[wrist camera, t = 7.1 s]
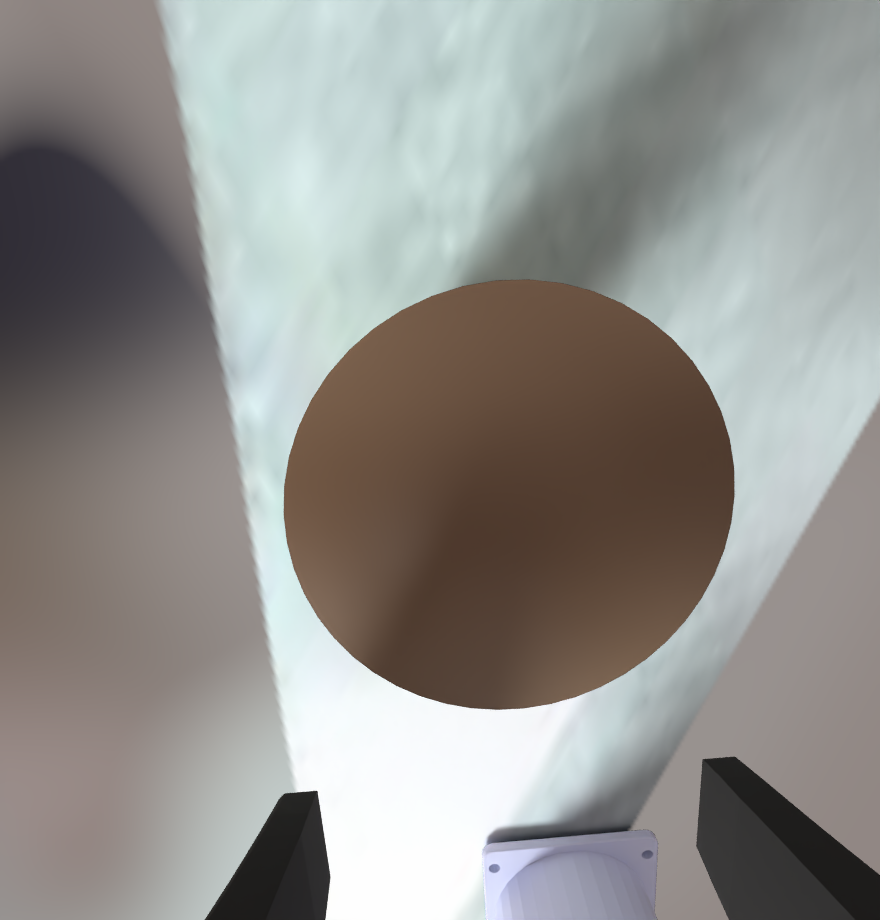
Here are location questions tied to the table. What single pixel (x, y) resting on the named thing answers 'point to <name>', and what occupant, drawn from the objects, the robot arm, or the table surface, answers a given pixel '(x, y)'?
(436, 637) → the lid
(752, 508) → the table surface
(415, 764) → the table surface
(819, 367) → the table surface
